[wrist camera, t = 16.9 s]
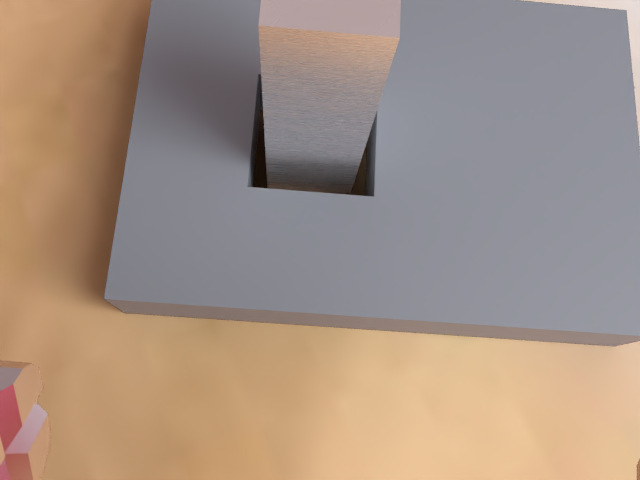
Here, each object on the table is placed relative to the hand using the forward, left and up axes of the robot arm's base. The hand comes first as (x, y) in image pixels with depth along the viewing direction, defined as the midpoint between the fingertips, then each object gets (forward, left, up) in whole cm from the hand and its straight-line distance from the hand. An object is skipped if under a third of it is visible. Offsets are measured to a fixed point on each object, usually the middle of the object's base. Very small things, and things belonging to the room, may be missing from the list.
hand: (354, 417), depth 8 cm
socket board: (-1, +11, -16) cm, 20 cm away
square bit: (-4, +10, -16) cm, 19 cm away
